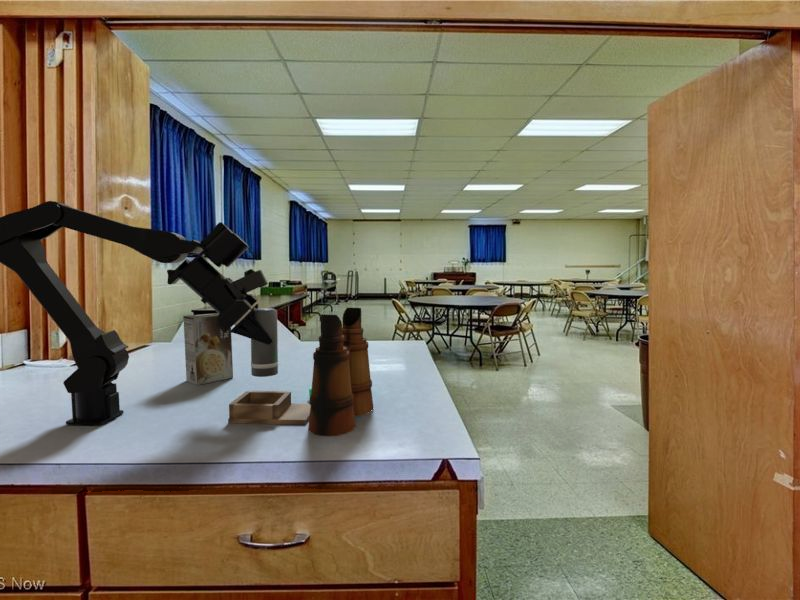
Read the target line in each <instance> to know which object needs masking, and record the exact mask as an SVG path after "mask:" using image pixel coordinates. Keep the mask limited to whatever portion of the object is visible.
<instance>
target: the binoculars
mask: <svg viewBox="0 0 800 600" xmlns="http://www.w3.org/2000/svg"><path fill="white" fill-rule="evenodd" d="M341 319H342V320H341ZM368 348H369V342H368V341H367V338H366V337H364V328H363V327H362V308H361V307H346V308H345V310H344V312H343V314H342V318H340V317H339V316H338V315H337V314H324V313H323V314H322V313H321V314H320V335H319V336H318V346H317V347H316V348H315V351H314V352H313V353H312V358H313V370H312V382H311V386H312V391H311V395H310V396H309V404H310V405H311V407H310V416H309V420H308V426H307V428H308V429H307V430H308V432H309V433H311V434H313V435H315V436H321V437H335V436H341V435H345V434H348V433H351V432H352V431H353V430H354V429H355V428H356V421H355V417H356V416H357V417H358V416H363V415H362V414H364V415H367V414H369V413H368V412H370V411H371V410H374V409H373V408H374V401H373V392H372V387H373V381H372V378H371V371H370V360H369V359H370V358H369V350H368ZM371 412H372V411H371ZM371 412H370V413H371ZM366 413H367V414H366Z"/></svg>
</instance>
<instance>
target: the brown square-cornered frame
mask: <svg viewBox="0 0 800 600" xmlns="http://www.w3.org/2000/svg"><path fill="white" fill-rule="evenodd" d="M310 407H311V405H310V403H292V391H287V390H251V391H249V390H246V391H245V392H243V393H242V394H241V395H239V396H238V397H237V398H235V399H234V400H233V401H231V402H230V403H229V404H228V417H229V418H227V419H228V420H227V423H228V424H253V425H255V424H260V425H261V424H263V425H268V424H269V425H270V424H271V425H307V423H309V416H310Z"/></svg>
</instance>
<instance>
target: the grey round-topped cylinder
mask: <svg viewBox="0 0 800 600" xmlns="http://www.w3.org/2000/svg"><path fill="white" fill-rule="evenodd" d="M255 312H256V319H257V321H258V322H259V323H260V325H261V326H262V327H263V328H264V330H265V331H266V332H267V333H268V335H269V336H270V337H271V339H272V340H273V341H272V342H271V343H270V344H269V345H268V344H265V343H262V342H259V341H256V340H253V339H250V358H251V359H250V360H251V361H250V368H251V370H250V372H251V376H253V377H257V378H258V377H259V378H263V377H264V378H267V377H272V376H277V375H278V373H279V359H278V358H279V356H278V355H279V353H278V352H279V348H278V344H279V342H278V341H279V340H278V337H279V336H278V310H277V309H275V308H270V307H269V308H268V307H267V308H266V307H265V308H264V307H261V308H259V309H255Z"/></svg>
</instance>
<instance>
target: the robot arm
mask: <svg viewBox="0 0 800 600" xmlns="http://www.w3.org/2000/svg"><path fill="white" fill-rule="evenodd" d="M62 228H65V229H69V230H72V231H76V232H79V233H83V234H86V235H89V236H93V237H96V238H100V239H103V240H107V241H109V242H113V243H117V244H120V245H123V246H126V247H128V248H130V249H132V250H134V251H135V252H137V253H139V254H141V255H143V256H146V258H147V257H148V258H150V259H152V260H153V261H156V262H158V263H161V264H178V263H180V264H179V265H178V266H177V267H176V268H174V269H167V270H166V273H167V285H174V284H178V282H179V281H182V282H183V283H184V284H185V285H186V286H187V287H188V288H190V290H192V291H193V292H194V293H195V294H196V295H198V297H200V298H201V299H200V301H201V302H202V303H203V304H208V306H210V307H211V308H212V309H213V310H214V311H215V313H219V315H218V316H219V317H218V318H217V327H218V328H220V329H221V330H222V331H223V332H224V333H226V332H227V331H228V330H229V329H230V328H231V331H230V332H231V334H236V335H238V336H242V337H245V338H248V339H250V340H251V339H253V340H256V341H259V342H262V343H265V344H268V345H269V344H270V343H271V342H272V341H273V340H272V339H271V337H270V336H269V335H268V333H267V332H266V331H265V330H264V328H263V327H262V326H261V325H260V323H259V322H258V321H257V319H256V312H255V309H259V307H260V306H259V305H260V304H259V302H258V298H257V297H255V295H254V294H252V293H249V292H252V291H255V290H257V289H261V288H263V287H265V286H267V285H268V284H269V283H268V280H267V279H266V277H265V274H264V273H263V271H262V269H258V270H256V271H255V270H254V269H253V268H250V269H247V270H245V271H244V273H243V275H244V276H243V277H241V278H238V279H236V280H233V279H231V277H225V276H224V275H223V274H222V273H221V272H220V271H219V270H217V269H216V268H215V266H216V267H218V268H221V267H222V266H225V267H226V268H229V267H230V266H232V264H234V262H235V261H236V260H237V259H238V258H240V257H241V255H242V254H244V253H245V252H246V251H247V250H248V249H249V247H250V246H249V245H248V244H247V243H246V242H245V241H244V239H242V238H241V237H240V236H239V235H238V234H237V233H235V232H233V230H231V229H230V228H229V227H228V226H227V225H225V224H224V223H223V222H222V221H219V222H218V223H217V224H216V225H215V226H214V228H213V229H212V230H211V231H210V232H209V233H208V234H207V235H206V236H205V237H204V238H203V239H202V240H200V241H199V240H197V239H192V240H187V239H186V238H185V237H184V236H183V235H181V234H179V233H176V232H171V231H167V230H161V229H154V228H146V227H138V226H133V225H130V224H127V223H124V222H121V221H116V220H113V219H110V218H107V217H104V216H100V215H97V214H93V213H91V212H89V211H88V212H87V211H84V210H80V209H79V208H75V207H72V206H70V205H69V204H66V203H61V202H59V201H58V202H57V201H54V200H49V201H48V200H47V201H44V202H41V203H39V204H38V205H35V206H33V207H28V208H25V209H22V210H18V211H15V212H11V213H8V214H4V215H3V216H0V264H1V265H3V266H5V267H6V268H8V269H9V270H11V271H13V272H15V274H16V275H17V276H18V277H19V279H20V280H21V281H22V282H23V284H24V285H25V286H26V287H27V289H28V290H29V291H30V292H31V295H33V296H34V298H35V299H36V301H38V303H39V304H40V306H41V307H42V308H43V309H44V311H45V312H46V313H47V314H48V316H49V317H50V318H51V319H52V321H53V322H54V323H55V324H56V326H57V327H58V328H59V330H60V331H61V332H62V334H63V335H64V336H65V337H66V338H67V340H68V342H69V345H70V351H71V352H70V353H71V356H72V359H73V361H74V363H75V365H76V367H77V368H76V370H74V371H73V372H72V373H71V374H70V375H69V376H68V377H67V378H66V379H65V380H64V381H63V385H64V388H65V389H66V392H67V394H68V393H69V394H70V395H71V396H70V397H71V398H70V399H71V413H72V416H71V417H72V418H70V419H68V420H66V421H65V425H76V424H82V425H85V426H86V425H87V426H88V425H89V426H90V425H91V426H94V425H95V426H98V425H99V426H100V425H103V424H105V423H106V422H109V421H110V420H113V419H115V418H116V417H119V416H120V415H122V414H124V410H123V409H122V410H121V409H120V408H121V406H120V393H119V391H117V387H118V386H117V383H114V381H116V380H117V379H118V378H119V374H120V372H121V371H123V370H124V369H125V368H126V366H127V365H128V362H129V359H130V355H129V352H128V350H127V349H128V348H129V345H127V344H125V342H123V341H122V339H121V338H120V336H119V334H118V332H117V331H116V330H115V329H113V330H110V331H107V332H106V331H104V330H102V329H100V328H99V327H98V326H97V325H96V324H95V323H94V322H93V320H92V319H91V318H90V317H89V315H88V313H86V311H85V310H84V308H83V307H82V306H81V305H80V303H79V301H77V299H76V298H75V297H74V295H73V294H72V293H71V291H70V290H69V289H68V287H67V286H66V285H65V283H64V282H63V281H62V279H60V277H59V276H58V274H57V273H56V272H55V270H54V269H53V268H52V267H51V265H50V263H48V261H47V256H46V252H45V251H46V250H45V245H44V244H43V242H42V241H43V240H45V239H46V238H48V237H50V236H52V235H54V234H55V233H56V232H58V231H59V230H60V229H62ZM192 255H194V256H195V255H196V256H195V257H194V258H193V259H191V260H190V259H187V258H188V257H189V256H192ZM204 257H206V258H207V259H208V260H209V261H210V262H211V263H213V264H214V265H215V266H213V265H212V264H211V263H210V262H209V261H208V260H207V259H206V258H204ZM254 304H255V305H254ZM253 305H254V306H253Z"/></svg>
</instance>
